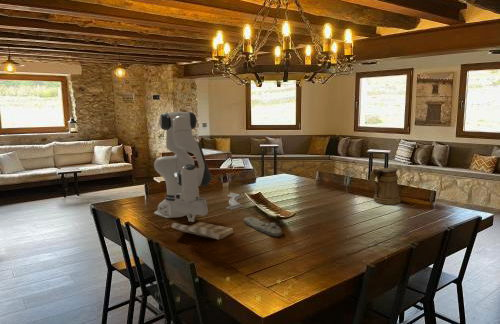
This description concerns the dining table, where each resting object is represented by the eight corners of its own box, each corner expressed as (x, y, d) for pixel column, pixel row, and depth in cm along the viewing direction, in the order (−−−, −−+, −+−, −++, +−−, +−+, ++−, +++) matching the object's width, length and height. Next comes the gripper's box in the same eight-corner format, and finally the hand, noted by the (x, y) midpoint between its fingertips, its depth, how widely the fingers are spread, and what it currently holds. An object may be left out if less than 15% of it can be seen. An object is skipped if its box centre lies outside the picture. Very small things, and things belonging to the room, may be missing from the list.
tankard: (405, 204, 276) (407, 169, 272) (376, 206, 270) (378, 171, 266) (390, 197, 293) (392, 165, 289) (362, 200, 287) (364, 167, 283)
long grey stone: (253, 221, 243) (239, 225, 238) (252, 213, 242) (238, 217, 237) (287, 234, 214) (273, 239, 208) (286, 225, 213) (272, 229, 208)
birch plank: (171, 227, 210) (172, 222, 210) (184, 232, 219) (185, 227, 220) (206, 234, 197) (207, 229, 198) (218, 239, 207) (219, 235, 207)
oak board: (186, 231, 221) (186, 227, 220) (199, 225, 231) (199, 221, 230) (220, 239, 208) (220, 234, 208) (232, 232, 218) (232, 228, 218)
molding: (227, 195, 306) (227, 192, 305) (242, 195, 306) (242, 191, 305) (225, 210, 264) (225, 206, 263) (243, 210, 264) (243, 206, 264)
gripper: (210, 196, 200) (210, 222, 202) (180, 192, 210) (181, 217, 213) (202, 199, 194) (203, 225, 197) (172, 194, 205) (173, 219, 207)
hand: (191, 221), depth 205 cm, fingers closed
